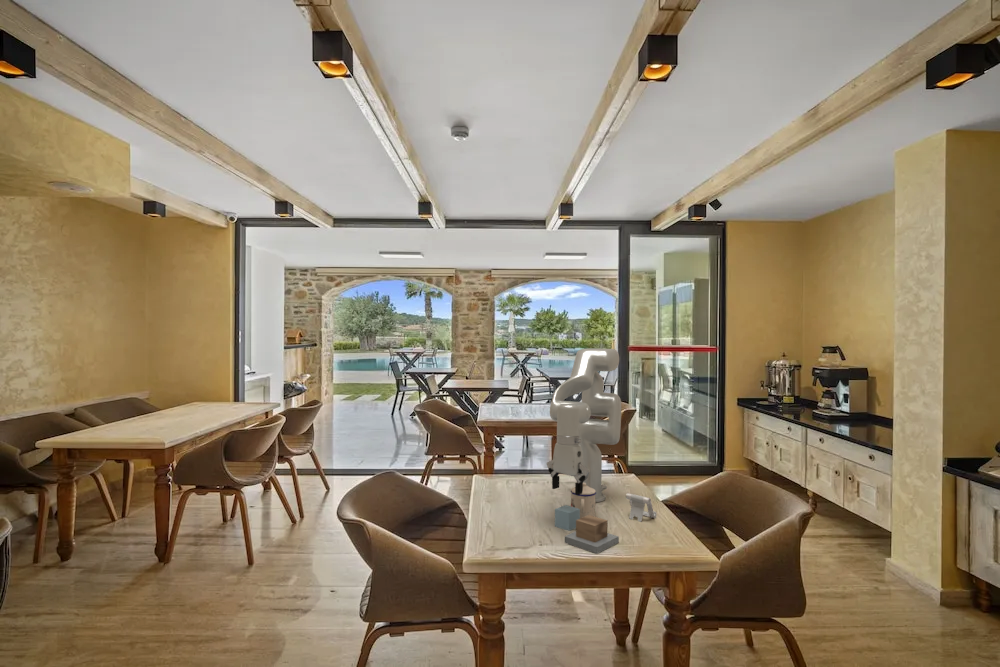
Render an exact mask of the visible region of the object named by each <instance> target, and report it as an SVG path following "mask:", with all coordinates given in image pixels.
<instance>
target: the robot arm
mask: <svg viewBox="0 0 1000 667" xmlns="http://www.w3.org/2000/svg"><path fill="white" fill-rule="evenodd" d="M619 363H620V354H619V352H618V350H616V349H615V348H594V347H593V348H582V349H579V350H577V352H576V355H575V358H574V362H573V365H572V370H571V373H570V377H569V378H568V379H566V380H565V381H564V382H562V383H561V384H560V385H559V386H558V387H557V388H556V389H555V391H554V392H553V396H552V399H551V402H550V406H549V416H550V418H551V420H552V421H553V422H556V443H555V444H554V447H553V448H554V449H553V457H552V460H549V461H547V462H546V466H547V467H546V468H548V470H547V471H548V473H549V475H550V477H551V487H552V488H551V489H552V490H555V489H559V488H560V476H559V474H561V475H566V476H570V477H573V478H574V479H575V481H576V482H575V483H574V484H575V486H574V487H575V494H576V495H579V494H582V491H583V482H584V483H586V485H587V486H589V487H590V488H593V489H595V491H596V494H595V503H599V502H604V501H605V500H606V495H605V494H604V493H603V491H604V490H606V489H607V488H608V487H607V485H606V484H602V477H603V476H602V473H603V472H602V468H603V467H602V464H603V463H602V462H603V461H602V459H603V457H602V452H601V450H600V448H599V447H598V444H599V445H610V446H612V445H617V444H618V443H619V441H620V439H621V438H620V437H621V427H622V426H621V424H622V423H621V421H622V399H621V398H620V396H619V395H618V394H616V393H613V392H604V388H605V387H604V385H605V381H604V379H603V377H602V375H601V374H600V373H599V372H613V371H615V370H616V369H617V368H618V367H619ZM580 393H581V401H571V400H565V399H567V398H569V397H571V396H575V395H577V394H580ZM591 416H592V417H606V418H608V419H599V418H591Z"/></svg>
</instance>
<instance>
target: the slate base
mask: <svg viewBox="0 0 1000 667" xmlns="http://www.w3.org/2000/svg"><path fill="white" fill-rule="evenodd" d="M619 538H620V537H619V535H616V534H612V533H609V532H607V537H605V538H603V539H601V540H599V541H597V542H592V541H589V540H586V539H583V538H580V537H577V536H576V530H575V531H573V532H570V533H569V534H567V535H565V536H564V544H568V545H571V546H573V547H577V548H579V549H582V550H585V551H588V552H591V553H594V554H596V555H598V554H599V553H601V552H604V551H605V550H607V549H610V548H612V547H613V546H615V545H618V544H619V540H620V539H619Z"/></svg>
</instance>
